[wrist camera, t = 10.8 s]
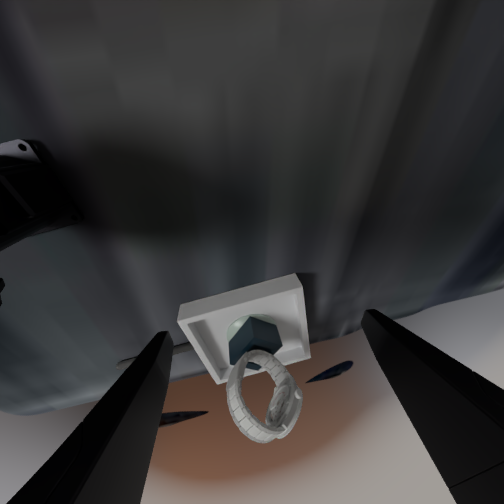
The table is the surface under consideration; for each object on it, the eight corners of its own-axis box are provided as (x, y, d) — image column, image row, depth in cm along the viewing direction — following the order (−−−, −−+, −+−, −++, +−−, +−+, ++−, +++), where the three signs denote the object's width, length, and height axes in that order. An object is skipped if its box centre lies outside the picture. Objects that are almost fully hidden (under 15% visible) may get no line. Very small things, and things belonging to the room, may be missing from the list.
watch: (265, 352, 30) (287, 451, 20) (216, 339, 27) (217, 449, 17) (287, 328, 28) (324, 426, 18) (238, 311, 25) (251, 418, 15)
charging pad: (144, 387, 32) (138, 406, 30) (84, 330, 24) (71, 350, 22) (304, 342, 32) (310, 357, 30) (294, 272, 25) (302, 286, 23)
